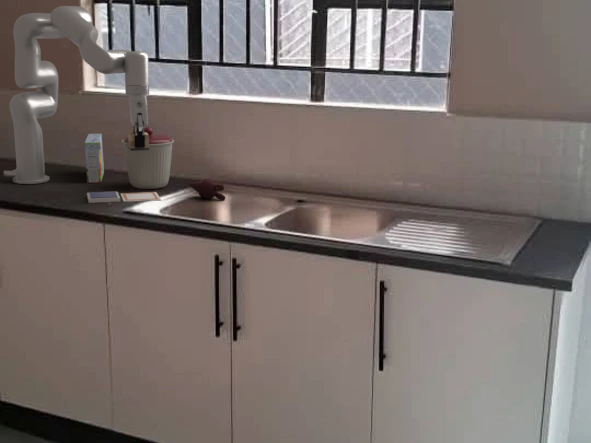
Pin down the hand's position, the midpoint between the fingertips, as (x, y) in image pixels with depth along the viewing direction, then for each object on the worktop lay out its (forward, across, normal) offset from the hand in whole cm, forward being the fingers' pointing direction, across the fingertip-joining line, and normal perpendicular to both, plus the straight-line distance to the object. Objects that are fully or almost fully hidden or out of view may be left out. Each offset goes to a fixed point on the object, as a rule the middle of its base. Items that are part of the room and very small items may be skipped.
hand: (138, 145), depth 271 cm
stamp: (+1, 0, 0) cm, 1 cm away
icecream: (+18, -6, -21) cm, 28 cm away
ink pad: (+17, 0, +12) cm, 21 cm away
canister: (+18, +17, -5) cm, 25 cm away
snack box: (+18, +38, +12) cm, 43 cm away
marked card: (+17, 0, 0) cm, 17 cm away
